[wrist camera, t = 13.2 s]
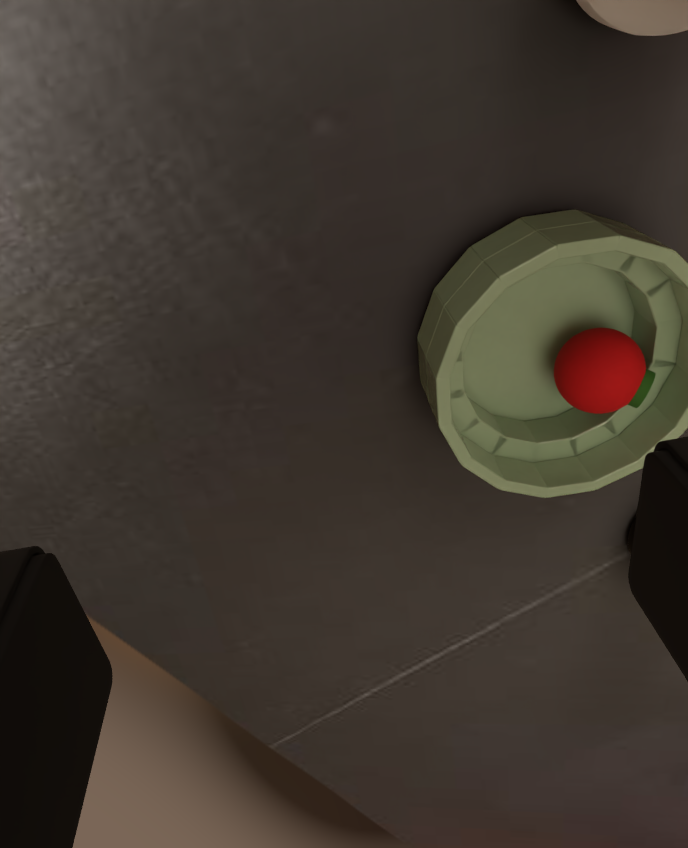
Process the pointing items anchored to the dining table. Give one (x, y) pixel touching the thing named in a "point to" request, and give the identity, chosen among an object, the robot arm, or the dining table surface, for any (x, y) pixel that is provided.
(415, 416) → the dining table surface
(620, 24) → the water bottle
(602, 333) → the cherry tomato
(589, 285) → the bowl
